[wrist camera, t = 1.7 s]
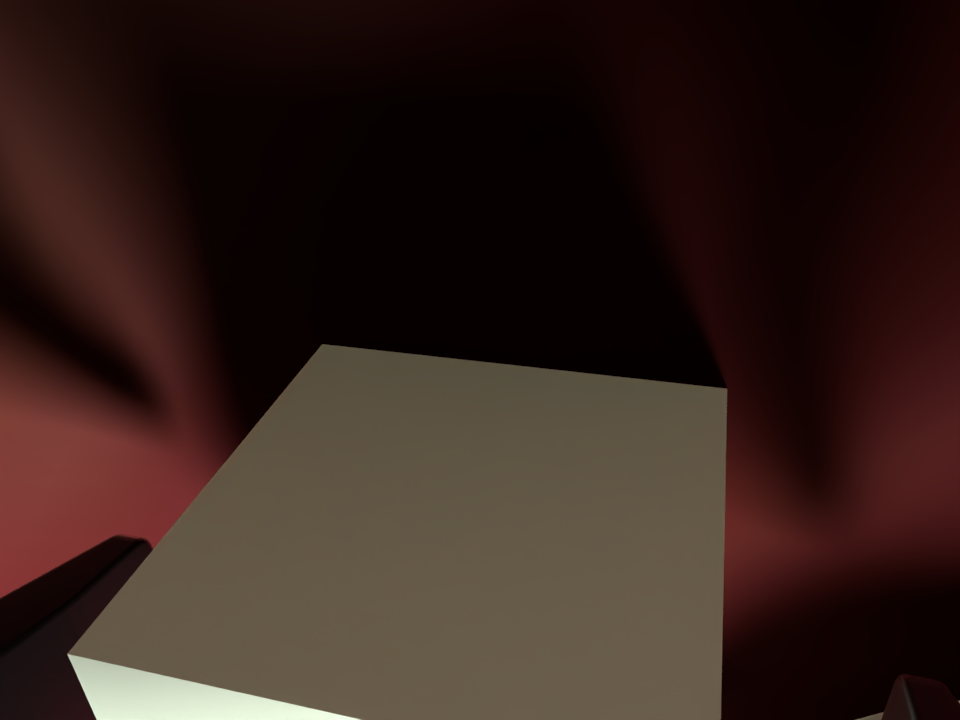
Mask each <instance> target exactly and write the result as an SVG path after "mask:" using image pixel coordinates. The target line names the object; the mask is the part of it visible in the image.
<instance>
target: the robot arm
mask: <svg viewBox="0 0 960 720" xmlns="http://www.w3.org/2000/svg"><path fill="white" fill-rule="evenodd" d="M152 550H153V547H152V545H151V543H150V542H149V541H148V540H147V539H145V538H141V537H136V536H130V535H124V534H120V535H115V536H113V537H110V538H108V539H107V540H105V541H103V542H101V543H99V544H98V545H96V546H94V547H92V548H90V549H88V550H87V551H85V552H83V553H81V554H79V555H78V556H76V557H74V558H72V559H70V560H68V561H67V562H65V563H63V564H61V565H59V566H58V567H56V568H54V569H52V570H50V571H48V572H47V573H45V574H43V575H41V576H39V577H38V578H36V579H34V580H32V581H30V582H28V583H27V584H25V585H23V586H21V587H19V588H18V589H16V590H14V591H12V592H10V593H8V594H7V595H5V596H3V597H1V598H0V720H97V719H96V717H95V715H94V713H93V710H92V708H91V706H90V704H89V701H88V699H87V697H86V695H85V692H84V690H83V688H82V686H81V684H80V681H79V679H78V677H77V675H76V672H75V670H74V668H73V666H72V663H71V661H70V659H69V657H68V653H69V651H70V650H71V649H72V648H73V646H74V645H75V644H76V643H77V642H78V640H79V639H80V638H81V637H82V636H83V634H84V633H85V632H86V631H87V629H88V628H89V627H90V626H91V625H92V623H93V622H94V621H95V620H96V619H97V617H98V616H99V615H100V614H101V612H102V611H103V610H104V609H105V608H106V606H107V605H108V604H109V603H110V602H111V600H112V599H113V598H114V597H115V595H116V594H117V593H118V592H119V591H120V589H121V588H122V587H123V586H124V584H125V583H126V582H127V581H128V580H129V578H130V577H131V576H132V575H133V574H134V572H135V571H136V570H137V569H138V567H139V566H140V565H141V564H142V563H143V561H144V560H145V559H146V558H147V557H148V555H149V554H150V553H151V552H152ZM881 720H960V703H959V702H958V701H957V699H956V698H955V697H954V695H953V694H952V693H951V691H950V690H949V689H948V688H947V686H945V685H944V684H943V683H942V682H940V681H938V680H935V679H930V678H925V677H919V676H914V675H908V674H902V675H900V676H898V678H897V679H896V680H895V682H894V685H893V688H892V691H891V693H890V696H889V699H888V702H887V705H886V707H885V710H884V713H883V716H882V719H881Z"/></svg>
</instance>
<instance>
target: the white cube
mask: <svg viewBox="0 0 960 720" xmlns="http://www.w3.org/2000/svg"><path fill="white" fill-rule="evenodd" d="M726 429H727V389H726V388H716V387H707V386H698V385H689V384H680V383H671V382H662V381H653V380H644V379H635V378H626V377H616V376H607V375H598V374H589V373H580V372H571V371H562V370H553V369H544V368H535V367H526V366H516V365H507V364H498V363H489V362H480V361H471V360H462V359H453V358H444V357H435V356H425V355H416V354H407V353H398V352H389V351H380V350H371V349H362V348H353V347H344V346H335V345H325V344H322V345H321V346H320V348H319V349H318V350H317V351H316V352H315V354H314V355H313V356H312V357H311V359H310V360H309V361H308V362H307V363H306V365H305V366H304V367H303V368H302V369H301V371H300V372H299V373H298V374H297V376H296V377H295V378H294V379H293V380H292V382H291V383H290V384H289V385H288V386H287V388H286V389H285V390H284V391H283V393H282V394H281V395H280V396H279V397H278V399H277V400H276V401H275V402H274V403H273V405H272V406H271V407H270V408H269V410H268V411H267V412H266V413H265V414H264V416H263V417H262V418H261V419H260V420H259V422H258V423H257V424H256V425H255V427H254V428H253V429H252V430H251V431H250V433H249V434H248V435H247V436H246V437H245V439H244V440H243V441H242V442H241V444H240V445H239V446H238V447H237V448H236V450H235V451H234V452H233V453H232V454H231V456H230V457H229V458H228V459H227V461H226V462H225V463H224V464H223V465H222V467H221V468H220V469H219V470H218V472H217V473H216V474H215V475H214V476H213V478H212V479H211V480H210V481H209V482H208V484H207V485H206V486H205V487H204V489H203V490H202V491H201V492H200V493H199V495H198V496H197V497H196V498H195V499H194V501H193V502H192V503H191V504H190V506H189V507H188V508H187V509H186V510H185V512H184V513H183V514H182V515H181V516H180V518H179V519H178V520H177V521H176V523H175V524H174V525H173V526H172V527H171V529H170V530H169V531H168V532H167V533H166V535H165V536H164V537H163V538H162V540H161V541H160V542H159V543H158V544H157V546H156V547H155V548H154V549H153V550H152V552H151V553H150V554H149V555H148V557H147V558H146V559H145V560H144V561H143V563H142V564H141V565H140V566H139V567H138V569H137V570H136V571H135V572H134V574H133V575H132V576H131V577H130V578H129V580H128V581H127V582H126V583H125V584H124V586H123V587H122V588H121V589H120V591H119V592H118V593H117V594H116V595H115V597H114V598H113V599H112V600H111V602H110V603H109V604H108V605H107V606H106V608H105V609H104V610H103V611H102V612H101V614H100V615H99V616H98V617H97V619H96V620H95V621H94V622H93V623H92V625H91V626H90V627H89V628H88V629H87V631H86V632H85V633H84V634H83V636H82V637H81V638H80V639H79V640H78V642H77V643H76V644H75V645H74V646H73V648H72V649H71V650H70V651H69V653H68V657H69V659H70V661H71V663H72V666H73V668H74V670H75V672H76V675H77V677H78V679H79V681H80V684H81V686H82V688H83V690H84V692H85V695H86V697H87V699H88V701H89V704H90V706H91V708H92V710H93V713H94V715H95V717H96V719H97V720H721V690H722V638H723V586H724V533H725V481H726Z"/></svg>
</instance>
